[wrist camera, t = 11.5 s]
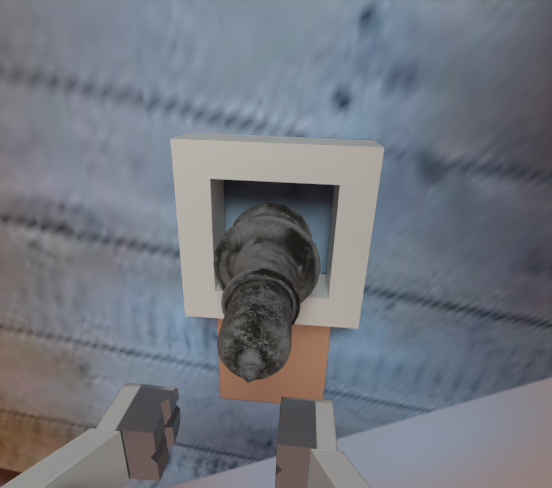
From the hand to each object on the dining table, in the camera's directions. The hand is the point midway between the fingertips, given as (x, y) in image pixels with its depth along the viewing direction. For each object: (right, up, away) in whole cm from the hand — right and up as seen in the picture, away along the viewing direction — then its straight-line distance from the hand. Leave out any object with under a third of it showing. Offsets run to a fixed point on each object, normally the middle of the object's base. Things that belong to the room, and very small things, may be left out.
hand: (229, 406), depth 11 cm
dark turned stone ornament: (+1, +5, +12) cm, 13 cm away
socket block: (+1, +6, +15) cm, 16 cm away
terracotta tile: (+1, -5, +19) cm, 20 cm away
